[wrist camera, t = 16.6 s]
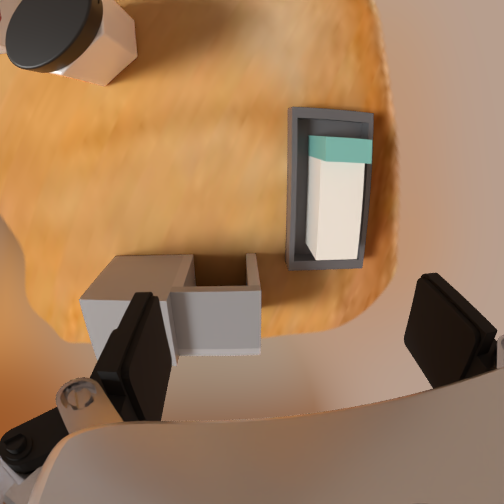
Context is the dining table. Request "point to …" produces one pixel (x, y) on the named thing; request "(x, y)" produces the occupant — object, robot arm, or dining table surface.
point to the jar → (72, 39)
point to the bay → (178, 305)
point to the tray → (297, 173)
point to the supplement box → (6, 19)
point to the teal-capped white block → (335, 195)
